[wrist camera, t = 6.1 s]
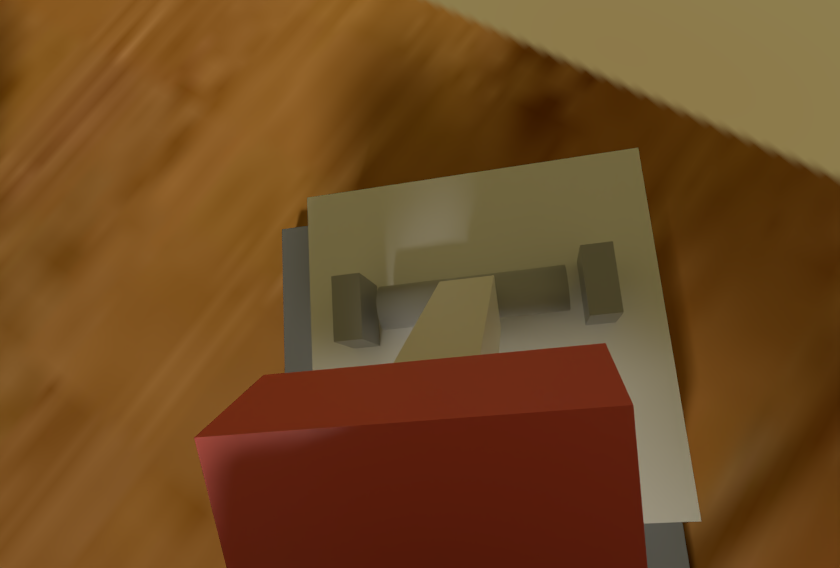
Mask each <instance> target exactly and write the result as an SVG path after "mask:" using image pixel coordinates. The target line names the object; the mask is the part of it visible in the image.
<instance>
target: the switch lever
mask: <svg viewBox="0 0 840 568" xmlns="http://www.w3.org/2000/svg"><path fill="white" fill-rule="evenodd" d="M376 306H377V314H378V319H379V322H380V325H381V327H382V329H383V330H388V329H398V328H407V327H413V329H412V331H411V333H410V334H409V336H408V338H407V340H406V341H405V343H404V345H403V347H402V348H401V350H400V352H399V354H398V356H397V357H396V359H395V361H394V363H387V364H376V365H366V366H355V367H344V368H334V369H323V370H312V371H302V372H291V373H281V374H270V375H263V376H262V377H261V378H260V379H259V380H257V381H256V382H255V383H254V384H253V385H252V386H251V387H250V388H249V389H248V390H246V391H245V392H244V393H243V394H242V395H241V396H240V397H239V398H238V399H236V400H235V401H234V402H233V403H232V404H231V405H230V406H229V407H228V408H227V409H225V410H224V411H223V412H222V413H221V414H220V415H219V416H218V417H217V418H215V419H214V420H213V421H212V422H211V423H210V424H209V425H208V426H207V427H206V428H204V429H203V430H202V431H201V432H200V433H199V434H198V435H197V436H196V437H194V439H195V443H196V447H197V451H198V455H199V459H200V463H201V467H202V471H203V475H204V479H205V483H206V487H207V491H208V495H209V499H210V503H211V507H212V511H213V515H214V519H215V523H216V527H217V531H218V535H219V539H220V543H221V547H222V551H223V555H224V559H225V563H226V567H227V568H648V566H647V555H646V543H645V532H644V520H643V509H642V498H641V486H640V475H639V463H638V452H637V440H636V429H635V417H634V406H633V403H632V401H631V398H630V396H629V394H628V392H627V390H626V387H625V385H624V383H623V381H622V379H621V376H620V374H619V372H618V370H617V367H616V365H615V363H614V361H613V359H612V356H611V354H610V352H609V350H608V348H607V345H606V343H600V344H590V345H579V346H568V347H558V348H547V349H536V350H526V351H515V352H504V353H499V345H500V333H501V325H500V318H502V317H512V316H521V315H531V314H541V313H550V312H560V311H569V310H570V309H571V307H570V294H569V285H568V278H567V272H566V267H565V265H558V266H549V267H541V268H532V269H524V270H516V271H507V272H499V273H490V274H482V275H474V276H465V277H457V278H448V279H440V280H432V281H423V282H415V283H406V284H398V285H390V286H381V287H379V288H378V290H377V295H376Z"/></svg>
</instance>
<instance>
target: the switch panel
mask: <svg viewBox="0 0 840 568" xmlns="http://www.w3.org/2000/svg"><path fill="white" fill-rule="evenodd" d="M307 207H308V226H303V227H296V228H289V229H282V250H283V299H284V348H285V373H291V372H302V371H312V370H323V369H334V368H344V367H355V366H366V365H376V364H387V363H394V361H395V359H396V357H397V356H398V354H399V352H400V350H401V348H402V347H403V345H404V343H405V341H406V340H407V338H408V336H409V334H410V333H411V331H412V329H413V327H407V328H398V329H388V330H383V329H382V327H381V325H380V322H379V319H378V314H377V306H376V295H377V290H378V288H379V287H381V286H390V285H398V284H406V283H415V282H423V281H432V280H440V279H448V278H457V277H465V276H474V275H482V274H490V273H499V272H507V271H516V270H524V269H532V268H541V267H549V266H558V265H565V267H566V272H567V278H568V285H569V294H570V307H571V309H570V310H569V311H560V312H550V313H541V314H531V315H521V316H512V317H502V318H500V325H501V333H500V345H499V353H504V352H515V351H526V350H536V349H547V348H558V347H568V346H579V345H590V344H600V343H606V345H607V348H608V350H609V352H610V354H611V356H612V359H613V361H614V363H615V365H616V367H617V370H618V372H619V374H620V376H621V379H622V381H623V383H624V385H625V387H626V390H627V392H628V394H629V396H630V398H631V401H632V403H633V406H634V417H635V429H636V440H637V452H638V463H639V475H640V486H641V498H642V509H643V520H644V532H645V543H646V555H647V566H648V568H690V566H689V560H688V554H687V548H686V542H685V535H684V529H683V523H682V522H697V521H701V517H700V511H699V505H698V499H697V493H696V487H695V481H694V475H693V469H692V463H691V457H690V451H689V445H688V440H687V434H686V428H685V422H684V416H683V410H682V404H681V398H680V392H679V386H678V380H677V374H676V368H675V363H674V357H673V351H672V345H671V339H670V333H669V327H668V321H667V315H666V309H665V303H664V297H663V291H662V285H661V280H660V274H659V268H658V262H657V256H656V250H655V244H654V238H653V232H652V226H651V220H650V214H649V208H648V203H647V197H646V191H645V185H644V179H643V173H642V167H641V161H640V155H639V149H638V148H632V149H625V150H619V151H612V152H605V153H599V154H592V155H586V156H579V157H573V158H566V159H559V160H553V161H546V162H540V163H533V164H526V165H520V166H513V167H507V168H500V169H493V170H487V171H480V172H474V173H467V174H460V175H454V176H447V177H441V178H434V179H427V180H421V181H414V182H408V183H401V184H394V185H388V186H381V187H375V188H368V189H361V190H355V191H348V192H342V193H335V194H328V195H322V196H315V197H309V198H307Z"/></svg>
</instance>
